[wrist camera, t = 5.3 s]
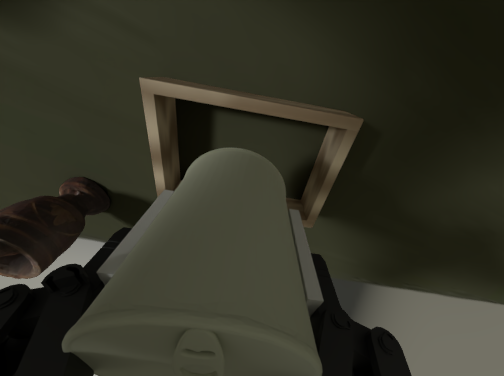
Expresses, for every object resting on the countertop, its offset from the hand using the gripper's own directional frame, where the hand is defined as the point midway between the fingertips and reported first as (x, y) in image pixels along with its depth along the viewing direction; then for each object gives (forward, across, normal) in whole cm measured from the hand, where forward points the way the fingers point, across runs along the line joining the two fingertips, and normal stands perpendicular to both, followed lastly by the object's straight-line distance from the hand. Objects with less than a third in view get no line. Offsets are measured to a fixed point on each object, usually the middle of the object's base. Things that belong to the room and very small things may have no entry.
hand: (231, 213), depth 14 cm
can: (+3, 0, 0) cm, 3 cm away
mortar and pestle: (+14, -26, -11) cm, 31 cm away
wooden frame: (+14, 0, 0) cm, 14 cm away
